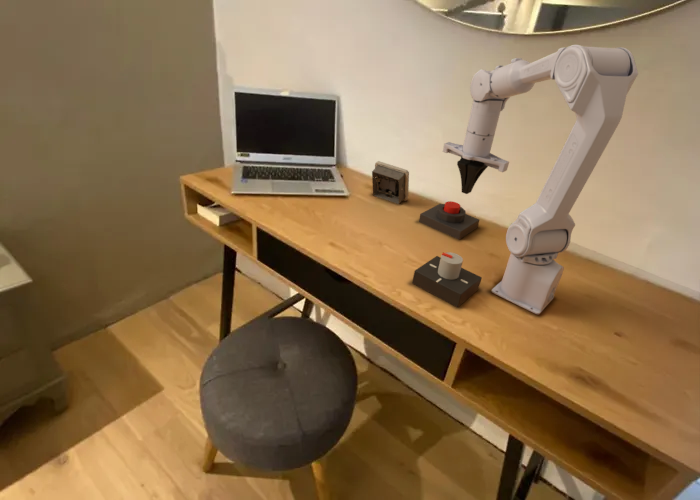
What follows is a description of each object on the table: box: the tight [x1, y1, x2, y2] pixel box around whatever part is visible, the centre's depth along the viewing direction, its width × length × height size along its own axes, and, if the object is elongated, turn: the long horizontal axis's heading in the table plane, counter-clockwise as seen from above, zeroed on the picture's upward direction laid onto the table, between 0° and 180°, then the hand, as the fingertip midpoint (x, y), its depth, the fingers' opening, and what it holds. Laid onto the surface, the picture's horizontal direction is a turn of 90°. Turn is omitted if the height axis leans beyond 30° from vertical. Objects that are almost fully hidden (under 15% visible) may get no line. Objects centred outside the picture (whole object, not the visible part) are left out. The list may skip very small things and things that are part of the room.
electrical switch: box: [371, 160, 410, 205], centre depth 120 cm, size 9×5×9 cm, turn 57°
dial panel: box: [411, 255, 482, 308], centre depth 90 cm, size 10×8×3 cm
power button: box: [444, 200, 462, 214], centre depth 110 cm, size 4×4×2 cm
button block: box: [418, 203, 480, 240], centre depth 112 cm, size 11×9×4 cm
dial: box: [438, 251, 464, 280], centre depth 88 cm, size 4×4×4 cm
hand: (466, 192), depth 105 cm, fingers closed
